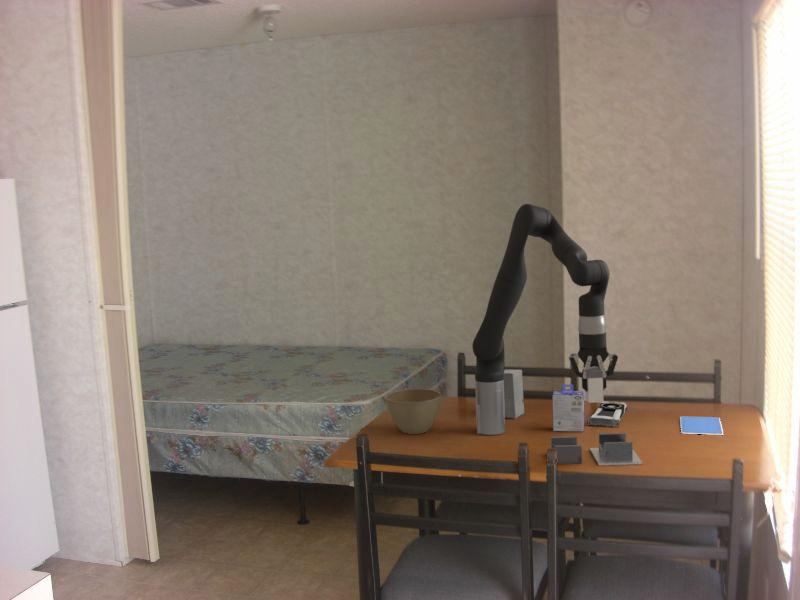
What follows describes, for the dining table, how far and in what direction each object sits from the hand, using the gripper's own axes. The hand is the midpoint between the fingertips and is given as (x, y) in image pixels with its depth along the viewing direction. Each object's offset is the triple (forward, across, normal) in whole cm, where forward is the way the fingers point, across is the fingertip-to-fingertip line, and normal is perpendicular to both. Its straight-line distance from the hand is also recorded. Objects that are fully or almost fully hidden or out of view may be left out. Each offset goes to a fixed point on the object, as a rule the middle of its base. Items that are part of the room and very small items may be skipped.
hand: (594, 390), depth 230 cm
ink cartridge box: (+20, -4, +29) cm, 36 cm away
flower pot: (+19, -54, +32) cm, 65 cm away
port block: (+20, +5, 0) cm, 21 cm away
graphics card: (+21, +12, +43) cm, 49 cm away
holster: (+20, -9, 0) cm, 22 cm away
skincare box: (+19, -21, +48) cm, 56 cm away
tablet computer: (+21, +38, +29) cm, 52 cm away
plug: (+3, 0, 0) cm, 3 cm away
